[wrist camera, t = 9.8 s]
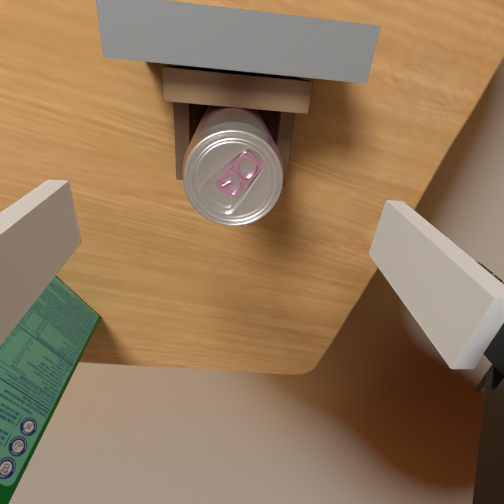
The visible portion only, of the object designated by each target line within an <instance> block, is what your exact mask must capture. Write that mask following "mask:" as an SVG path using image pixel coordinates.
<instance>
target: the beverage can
mask: <svg viewBox="0 0 504 504" xmlns="http://www.w3.org/2000/svg"><path fill="white" fill-rule="evenodd" d="M182 177H183V183H184V188H185V192H186V195H187V197H188V199H189V201H190V203H191V204H192V206H193V207H194V208H195V209H196V210H197V212H199V213H200V214H201V215H202V216H203V217H205V218H206V219H208V220H210V221H212V222H214V223H217V224H220V225H224V226H243V225H247V224H251V223H253V222H255V221H257V220H259V219H261V218H262V217H264V216H265V215H266V214H267V213H268V212H269V211H270V210H271V209H272V208H273V207H274V205H275V204H276V202H277V200H278V198H279V196H280V193H281V190H282V185H283V177H284V168H283V161H282V158H281V155H280V152H279V150H278V148H277V146H276V144H275V143H274V141H273V139H272V137H271V135H270V133H269V131H268V129H267V127H266V125H265V123H264V121H263V119H262V117H261V115H260V114H259V112H258V110H257V109H248V108H237V107H226V106H214V105H210V106H209V107H208V108H207V110H206V111H205V113H204V115H203V117H202V119H201V121H200V123H199V125H198V127H197V129H196V132H195V134H194V136H193V138H192V140H191V142H190V144H189V147H188V149H187V151H186V153H185V156H184V160H183V165H182Z"/></svg>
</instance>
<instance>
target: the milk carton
mask: <svg viewBox="0 0 504 504" xmlns="http://www.w3.org/2000/svg"><path fill="white" fill-rule="evenodd" d="M100 318H101V317H100V316H99V315H98V314H97V313H96V312H94V311H93V310H92V309H91V308H90V307H89V306H88V305H87V304H86V303H85V302H83V301H82V300H81V299H80V298H79V297H78V296H77V295H76V294H75V293H74V292H73V291H71V290H70V289H69V288H68V287H67V286H66V285H65V284H64V283H63V282H62V281H60V280H59V279H58V278H57V277H56V276H55V277H54V278H53V279H52V280H51V282H50V283H49V284H48V285H47V287H46V288H45V289H44V291H43V292H42V293H41V294H40V296H39V297H38V298H37V299H36V301H35V302H34V303H33V305H32V306H31V307H30V308H29V310H28V311H27V312H26V313H25V315H24V316H23V317H22V319H21V320H20V321H19V322H18V324H17V325H16V326H15V328H14V329H13V330H12V331H11V333H10V334H9V335H8V336H7V338H6V339H5V340H4V342H3V343H2V344H1V345H0V504H8V503H9V501H10V499H11V497H12V495H13V493H14V491H15V489H16V487H17V485H18V483H19V481H20V479H21V477H22V475H23V473H24V471H25V469H26V467H27V465H28V463H29V461H30V459H31V457H32V455H33V453H34V451H35V449H36V447H37V445H38V443H39V441H40V439H41V437H42V435H43V433H44V431H45V429H46V427H47V425H48V423H49V421H50V419H51V417H52V415H53V413H54V411H55V409H56V407H57V405H58V403H59V401H60V399H61V397H62V395H63V393H64V391H65V389H66V387H67V385H68V383H69V381H70V379H71V377H72V375H73V373H74V371H75V369H76V367H77V364H78V363H79V361H80V359H81V357H82V355H83V353H84V351H85V349H86V347H87V345H88V343H89V341H90V339H91V337H92V334H93V332H94V330H95V328H96V326H97V324H98V322H99V320H100Z"/></svg>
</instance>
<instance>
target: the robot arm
mask: <svg viewBox="0 0 504 504" xmlns="http://www.w3.org/2000/svg"><path fill="white" fill-rule="evenodd" d="M81 242H82V241H81V236H80V231H79V227H78V222H77V217H76V212H75V208H74V203H73V198H72V194H71V189H70V184H69V181H63V180H47V181H45V182H44V183H43V184H41V185H40V186H38V187H37V188H35V189H34V190H32V191H31V192H29V193H28V194H27V195H25V196H24V197H22V198H21V199H19V200H18V201H16V202H15V203H13V204H12V205H11V206H9V207H8V208H6V209H5V210H3V211H2V212H0V345H1V344H2V343H3V342H4V340H5V339H6V338H7V336H8V335H9V334H10V333H11V331H12V330H13V329H14V328H15V326H16V325H17V324H18V322H19V321H20V320H21V319H22V317H23V316H24V315H25V313H26V312H27V311H28V310H29V308H30V307H31V306H32V305H33V303H34V302H35V301H36V299H37V298H38V297H39V296H40V294H41V293H42V292H43V291H44V289H45V288H46V287H47V285H48V284H49V283H50V282H51V280H52V279H53V278H54V277H55V275H56V274H57V273H58V271H59V270H60V269H61V268H62V266H63V265H64V264H65V262H66V261H67V260H68V259H69V257H70V256H71V255H72V254H73V252H74V251H75V250H76V248H77V247H78V246H79V245H80V243H81ZM369 255H370V257H371V258H372V259H373V261H374V262H375V264H376V265H377V266H378V268H379V269H380V271H381V272H382V273H383V275H384V276H385V278H386V279H387V280H388V282H389V283H390V284H391V286H392V287H393V289H394V290H395V292H396V293H397V294H398V296H399V297H400V299H401V300H402V301H403V303H404V304H405V305H406V307H407V308H408V310H409V311H410V312H411V314H412V315H413V317H414V318H415V319H416V321H417V322H418V323H419V325H420V326H421V328H422V329H423V330H424V332H425V333H426V335H427V336H428V337H429V339H430V340H431V342H432V343H433V344H434V346H435V347H436V349H437V350H438V352H439V353H440V354H441V356H442V357H443V358H444V360H445V361H446V363H447V364H448V365H449V367H450V368H451V369H474V368H475V367H476V366H477V364H478V363H479V361H480V360H481V358H482V357H483V355H485V356H486V357H487V358H488V360H489V361H490V362H491V363H492V366H491V367H490V368H489V370H488V371H487V373H486V374H485V375H484V377H483V378H482V380H481V381H480V383H479V384H478V385H477V387H476V389H475V390H476V391H478V392H479V391H480V390H481V389H482V388H485V391H484V400H483V410H482V419H481V428H480V438H479V448H478V457H477V467H476V475H475V485H474V495H473V504H504V283H502V280H501V279H499V278H498V277H497V276H495V275H493V273H492V272H491V271H490V270H488V269H487V268H486V267H485V266H483V265H482V264H480V263H479V262H477V261H475V260H473V259H472V258H471V257H470V256H469V255H467V254H466V253H465V252H464V251H462V250H461V249H460V248H459V247H458V246H456V245H455V244H454V243H453V242H452V241H450V240H449V239H448V238H447V237H446V236H444V235H443V234H442V233H441V232H439V231H438V230H437V229H436V228H435V227H433V226H432V225H431V224H430V223H429V222H427V221H426V220H425V219H424V218H422V217H421V216H420V215H419V214H418V213H416V212H415V211H414V210H413V209H412V208H410V207H409V206H408V205H407V204H406V203H404V202H403V201H392V200H386V202H385V205H384V208H383V211H382V214H381V217H380V220H379V224H378V227H377V230H376V233H375V236H374V239H373V242H372V245H371V248H370V251H369Z"/></svg>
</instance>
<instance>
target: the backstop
mask: <svg viewBox="0 0 504 504" xmlns="http://www.w3.org/2000/svg"><path fill="white" fill-rule="evenodd" d="M96 5H97V13H98V21H99V28H100V36H101V44H102V52H103V57H104V58H114V59H124V60H134V61H144V62H154V63H164V64H174V65H185V66H195V67H205V68H215V69H225V70H235V71H245V72H255V73H265V74H275V75H285V76H295V77H305V78H315V79H325V80H335V81H345V82H355V83H365V84H367V80H368V76H369V72H370V68H371V64H372V59H373V55H374V51H375V47H376V43H377V39H378V35H379V31H380V26H378V25H370V24H361V23H353V22H344V21H336V20H327V19H319V18H310V17H302V16H293V15H285V14H276V13H268V12H259V11H251V10H242V9H234V8H225V7H217V6H208V5H200V4H192V3H183V2H175V1H166V0H96Z"/></svg>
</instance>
